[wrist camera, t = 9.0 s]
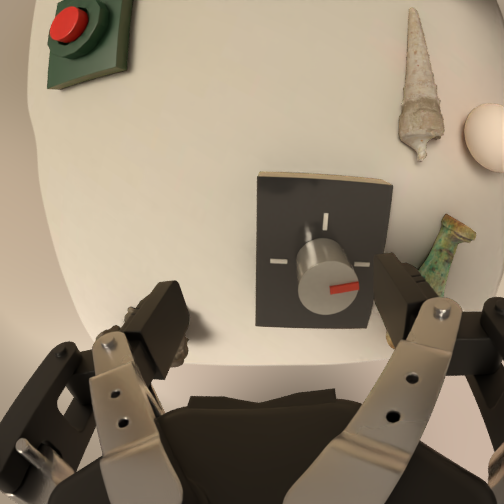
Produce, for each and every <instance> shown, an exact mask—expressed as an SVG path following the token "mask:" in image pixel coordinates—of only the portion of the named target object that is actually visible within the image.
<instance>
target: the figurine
mask: <svg viewBox="0 0 504 504" xmlns="http://www.w3.org/2000/svg"><path fill="white" fill-rule="evenodd" d="M441 223H442V227H441V230H440V233H439V234H438V236H437V238H436V241H435V243H434V245H433V248H432V250H431V252H430V254H429V256H428V258H427V259H426V261H425V262H424V264H423V265H422V266H421V268H420V269H419V270H418V271H419V272H420V273H421V276H423V277H424V278H425V280H426V281H427V282H428V283H429V285H430V286H431V287H432V288H433V290H434V291H435V292H436V294H437V295H438V296H439V297H443V296H444V289H445V285H446V281H447V277H448V273H449V269H450V266H451V263H452V260H453V257H454V255H455V252H456V248H457V245H458V244H459V243H462V242H468V243H470V242H471V241H472V240H475V238H476V232H474V231H473V230H472V229H471V228H469V227H468V226H466V225H465V224H463V223H461V222H460V221H458V220H456V219H454V218H453V217H451V216H449V215H448V214H445V216H444V218H443V219H442V221H441ZM386 339H387V342H388V344H389V346H390V347H391V348H393V349H395V348H394V346H393V343H392V341H391V338H390V336H389V334H388V331H387V333H386Z"/></svg>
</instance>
